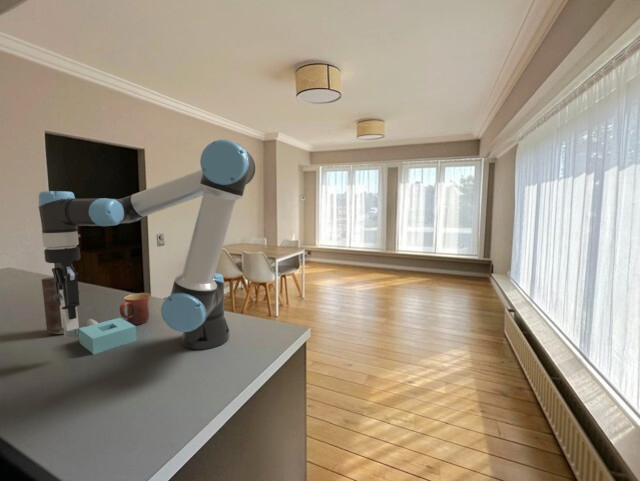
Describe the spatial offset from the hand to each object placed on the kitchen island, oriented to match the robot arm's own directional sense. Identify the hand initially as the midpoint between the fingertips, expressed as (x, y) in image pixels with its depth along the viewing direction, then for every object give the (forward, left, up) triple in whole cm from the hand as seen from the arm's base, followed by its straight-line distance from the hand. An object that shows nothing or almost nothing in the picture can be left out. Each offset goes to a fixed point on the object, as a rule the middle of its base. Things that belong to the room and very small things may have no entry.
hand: (70, 327), depth 86 cm
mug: (+14, -23, -10) cm, 28 cm away
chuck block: (+10, -11, -10) cm, 17 cm away
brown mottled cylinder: (+26, -4, -10) cm, 28 cm away
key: (0, 0, -3) cm, 3 cm away
